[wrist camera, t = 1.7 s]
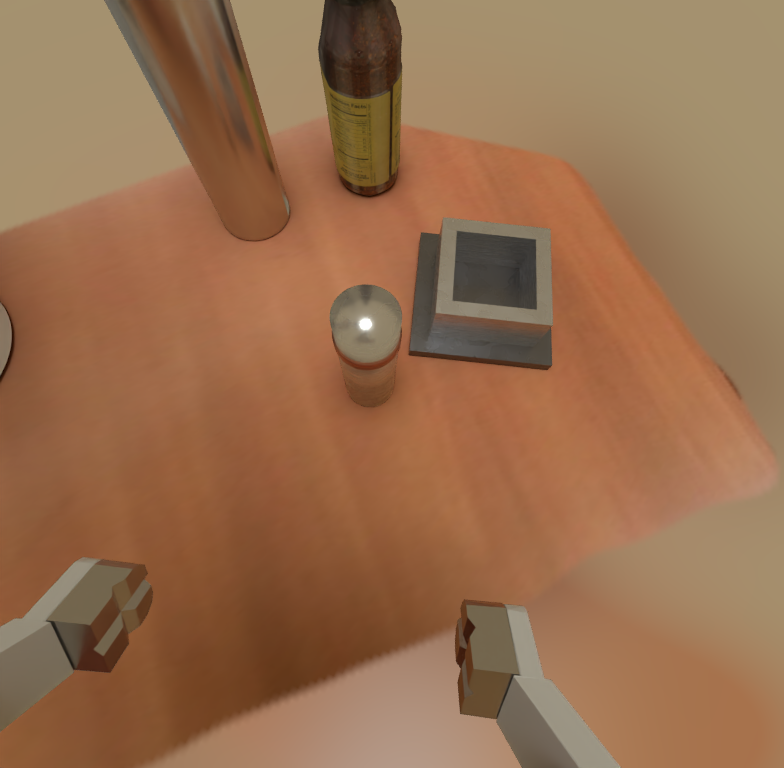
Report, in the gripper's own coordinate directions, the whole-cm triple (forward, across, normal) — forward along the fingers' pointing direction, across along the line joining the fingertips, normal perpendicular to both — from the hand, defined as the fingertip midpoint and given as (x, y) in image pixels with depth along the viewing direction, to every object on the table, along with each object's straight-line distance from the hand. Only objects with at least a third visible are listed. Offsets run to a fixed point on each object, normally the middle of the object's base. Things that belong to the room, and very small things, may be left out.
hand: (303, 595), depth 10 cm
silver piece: (+34, +14, -6) cm, 38 cm away
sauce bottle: (+39, +4, -10) cm, 40 cm away
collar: (+30, -8, -1) cm, 31 cm away
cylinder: (+23, +1, +6) cm, 24 cm away
